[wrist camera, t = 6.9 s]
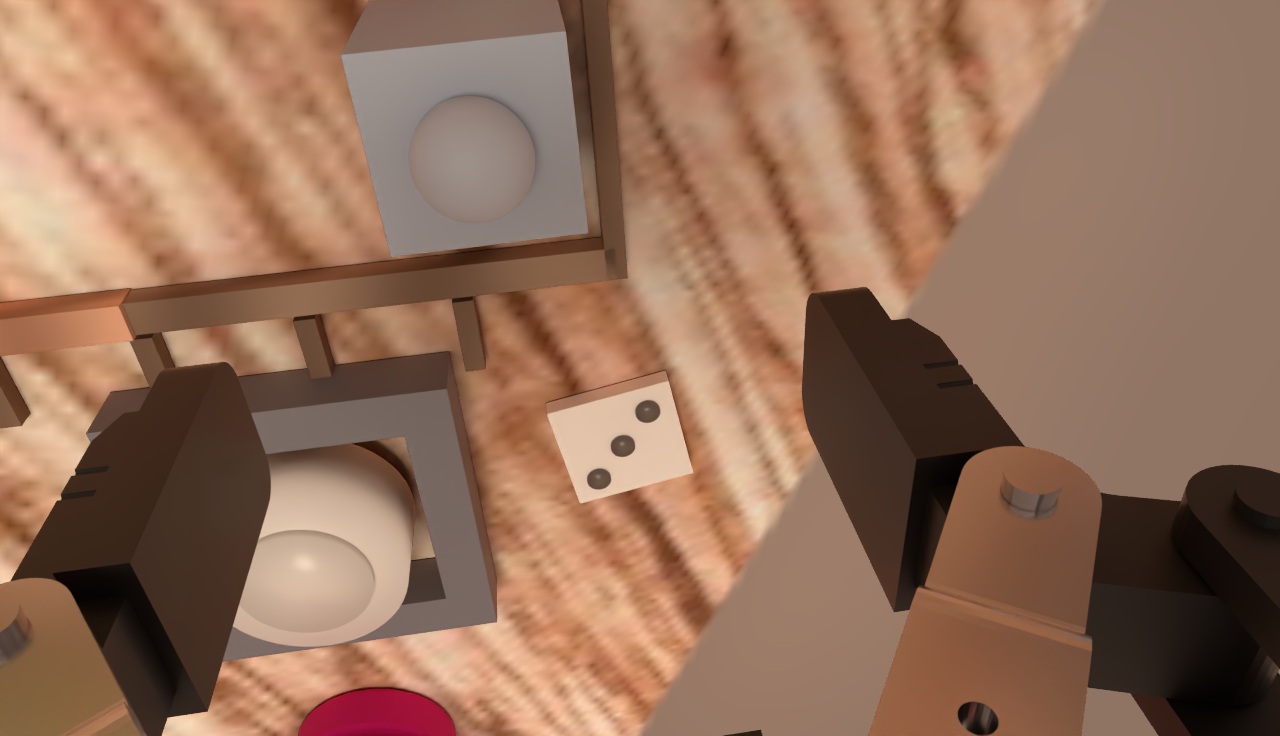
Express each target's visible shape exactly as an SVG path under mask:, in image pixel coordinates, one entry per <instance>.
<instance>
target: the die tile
mask: <svg viewBox="0 0 1280 736" xmlns="http://www.w3.org/2000/svg"><path fill="white" fill-rule="evenodd" d="M546 411H547V416H548V419H549V422H550V424H551V427H552V430H553V432H554V435H555V438H556V440H557V443H558V446H559V448H560V451H561V454H562V456H563V459H564V462H565V464H566V467H567V470H568V472H569V475H570V478H571V480H572V483H573V486H574V488H575V491H576V494H577V496H578V499H579V502H580V504H581V503H584V502H588V501H592V500H595V499H599V498H603V497H606V496H610V495H614V494H617V493H621V492H625V491H629V490H632V489H636V488H640V487H643V486H647V485H651V484H654V483H658V482H662V481H665V480H669V479H673V478H676V477H680V476H684V475H687V474H691V473H693V470H692V467H691V463H690V459H689V455H688V452H687V448H686V444H685V440H684V437H683V433H682V429H681V426H680V422H679V418H678V414H677V411H676V407H675V403H674V399H673V396H672V392H671V388H670V385H669V381H668V377H667V374H666V370H665V371H662V372H658V373H654V374H651V375H647V376H643V377H640V378H636V379H632V380H629V381H625V382H622V383H618V384H614V385H611V386H607V387H603V388H600V389H596V390H592V391H589V392H585V393H581V394H578V395H574V396H570V397H567V398H563V399H559V400H556V401H552V402H548V403H546Z"/></svg>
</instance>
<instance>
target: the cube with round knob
mask: <svg viewBox="0 0 1280 736" xmlns="http://www.w3.org/2000/svg"><path fill="white" fill-rule="evenodd" d="M341 58H342V62H343V66H344V70H345V74H346V78H347V82H348V86H349V90H350V94H351V98H352V102H353V106H354V111H355V115H356V119H357V123H358V127H359V131H360V135H361V139H362V143H363V147H364V151H365V155H366V159H367V163H368V167H369V171H370V175H371V179H372V183H373V187H374V191H375V195H376V199H377V203H378V207H379V211H380V215H381V219H382V223H383V227H384V231H385V235H386V239H387V243H388V247H389V251H390V255H391V257H396V256H404V255H412V254H420V253H429V252H437V251H445V250H453V249H462V248H470V247H478V246H486V245H495V244H503V243H511V242H519V241H528V240H536V239H544V238H552V237H561V236H569V235H577V234H585V233H588V226H587V217H586V208H585V199H584V190H583V181H582V172H581V163H580V154H579V145H578V136H577V127H576V118H575V109H574V100H573V91H572V82H571V73H570V64H569V55H568V46H567V37H566V30H565V26H564V22H563V18H562V14H561V11H560V7H559V3H558V0H369V1H368V3H367V5H366V7H365V9H364V11H363V13H362V15H361V17H360V19H359V20H358V22H357V24H356V26H355V28H354V30H353V32H352V34H351V36H350V38H349V40H348V42H347V44H346V46H345V48H344V50H343V51H342V53H341Z"/></svg>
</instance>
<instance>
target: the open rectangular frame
mask: <svg viewBox="0 0 1280 736" xmlns="http://www.w3.org/2000/svg"><path fill="white" fill-rule="evenodd" d="M580 1H581V12H582V23H583V35H584V46H585V57H586V68H587V80H588V91H589V102H590V113H591V124H592V136H593V147H594V158H595V169H596V181H597V192H598V203H599V214H600V226H601V237H600V238H591V239H582V240H573V241H564V242H555V243H546V244H537V245H528V246H519V247H510V248H501V249H493V250H484V251H475V252H466V253H457V254H448V255H439V256H430V257H421V258H412V259H403V260H394V261H385V262H376V263H368V264H359V265H350V266H341V267H332V268H323V269H314V270H305V271H296V272H287V273H278V274H269V275H260V276H251V277H243V278H234V279H225V280H216V281H207V282H198V283H189V284H180V285H171V286H162V287H153V288H144V289H135V290H131V289H121V290H112V291H103V292H94V293H85V294H76V295H67V296H58V297H49V298H40V299H31V300H22V301H14V302H5V303H0V356H6V355H14V354H23V353H31V352H40V351H49V350H57V349H66V348H74V347H83V346H92V345H100V344H109V343H117V342H126V341H130V343H131V345H132V347H133V350H134V352H135V354H136V356H137V359H138V361H139V363H140V365H141V368H142V370H143V372H144V375H145V377H146V379H147V381H148V384H149V386H150V388H152V386H153V384H154V382H155V380H156V378H157V376H158V375H159V373H160V372H161V371H162V370H164V369H169V368H175V367H174V364H173V362H172V360H171V357H170V355H169V352H168V350H167V348H166V345H165V343H164V340H163V338H162V335H161V333H160V332H168V331H177V330H185V329H194V328H203V327H211V326H220V325H229V324H237V323H246V322H254V321H263V320H272V319H280V318H289V317H294V320H293V323H294V326H295V329H296V332H297V335H298V339H299V342H300V345H301V348H302V351H303V355H304V358H305V361H306V364H307V367H308V370H309V374H310V377H311V379H316V378H324V377H332V374H333V370H334V366H335V365H334V362H333V358H332V355H331V352H330V348H329V345H328V341H327V338H326V335H325V331H324V328H323V324H322V321H321V318H320V314H323V313H332V312H341V311H349V310H358V309H367V308H375V307H384V306H393V305H401V304H410V303H418V302H427V301H436V300H444V299H452V304H453V310H454V315H455V320H456V325H457V330H458V335H459V340H460V345H461V350H462V355H463V360H464V365H465V370H466V371H474V370H482V369H486V357H485V351H484V346H483V341H482V335H481V330H480V324H479V319H478V313H477V308H476V302H475V297H474V296H479V295H487V294H496V293H505V292H513V291H522V290H531V289H539V288H548V287H556V286H565V285H574V284H582V283H591V282H600V281H608V280H617V279H626V278H628V276H627V262H626V249H625V235H624V221H623V208H622V194H621V180H620V167H619V153H618V140H617V126H616V112H615V99H614V85H613V72H612V58H611V44H610V31H609V17H608V3H607V0H580ZM29 415H30V412H29V410H28V409H27V407H26V405H25V403H24V401H23V399H22V397H21V396H20V394H19V392H18V390H17V388H16V386H15V384H14V383H13V381H12V379H11V377H10V375H9V373H8V371H7V370H6V368H5V366H4V364H3V362H2V360H1V358H0V428H8V427H16V426H22V425H23V423H24V422H25V420H26V419H27V418H28V416H29Z"/></svg>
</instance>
